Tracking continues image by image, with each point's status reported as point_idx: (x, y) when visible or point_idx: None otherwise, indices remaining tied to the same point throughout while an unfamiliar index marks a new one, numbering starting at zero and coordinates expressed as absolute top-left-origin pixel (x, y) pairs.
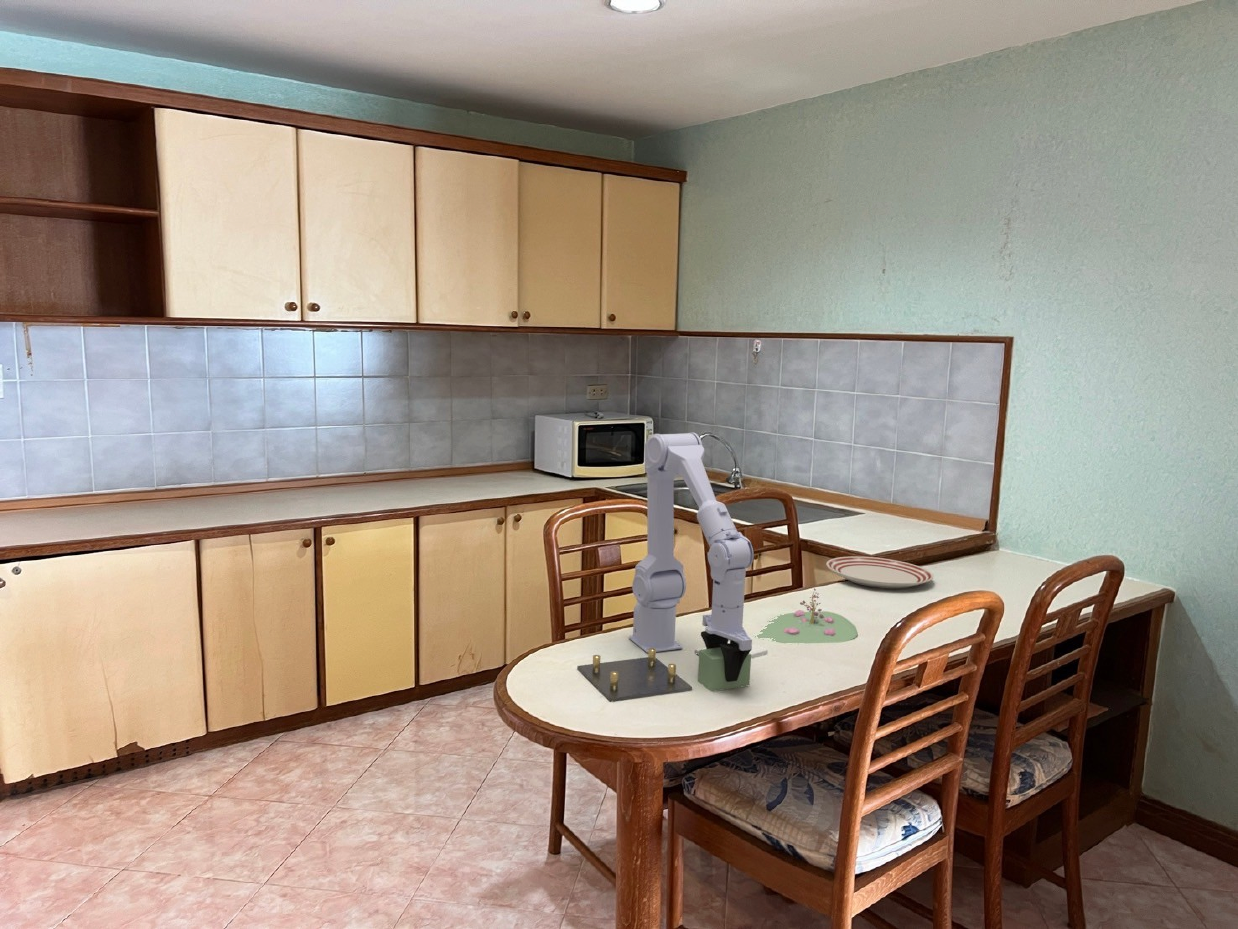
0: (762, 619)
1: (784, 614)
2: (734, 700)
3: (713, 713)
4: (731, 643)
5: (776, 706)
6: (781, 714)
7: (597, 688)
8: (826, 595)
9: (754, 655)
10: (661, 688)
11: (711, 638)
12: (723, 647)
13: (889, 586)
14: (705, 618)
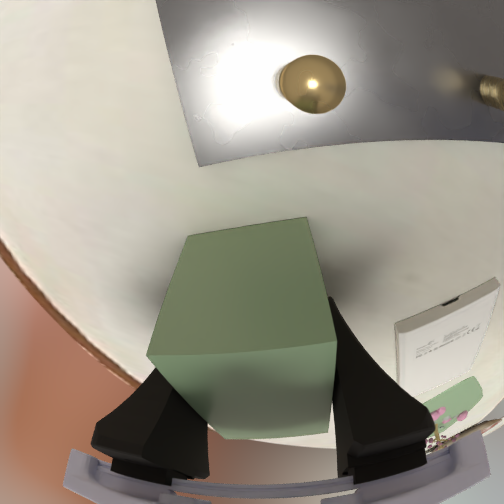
0: (490, 385)
1: (478, 401)
2: (118, 282)
3: (25, 197)
4: (152, 472)
5: (107, 345)
6: (72, 336)
7: None
8: (474, 419)
9: (398, 383)
10: (193, 9)
11: (346, 439)
12: (104, 444)
13: (442, 445)
14: (457, 489)
